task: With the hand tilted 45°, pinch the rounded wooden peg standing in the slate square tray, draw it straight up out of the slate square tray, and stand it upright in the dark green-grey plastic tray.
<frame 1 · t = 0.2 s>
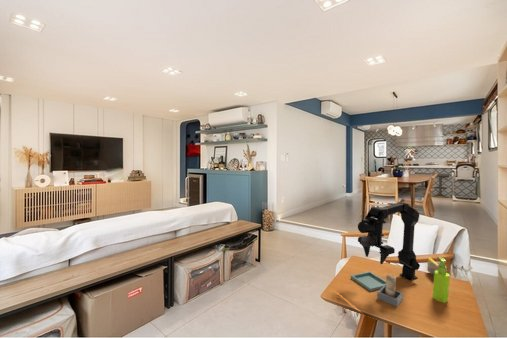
hand: (373, 260, 127), 14 cm above the table, tool pointing down, fingers open, 9 cm apart
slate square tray: (389, 300, 116), on the table
soap dispenser: (439, 298, 118), on the table
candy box: (435, 278, 138), on the table
rounded wooden peg: (389, 298, 116), point 1 cm above the table, touching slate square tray
green-grey tray: (369, 283, 131), on the table
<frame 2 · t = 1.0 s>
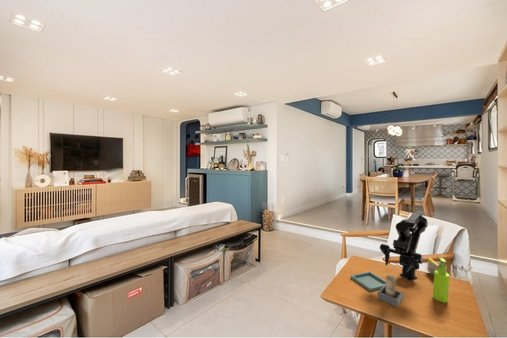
hand: (396, 268, 121), 13 cm above the table, tool tilted 45°, fingers open, 9 cm apart
nothing on the table moved.
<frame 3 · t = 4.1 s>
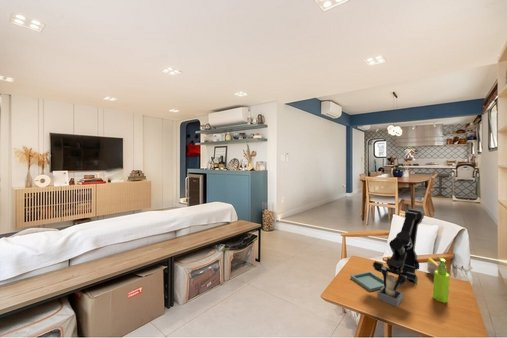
hand: (389, 288, 115), 7 cm above the table, tool tilted 45°, fingers closed on rounded wooden peg, 4 cm apart
rounded wooden peg: (389, 298, 116), point 1 cm above the table, touching gripper, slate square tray
everything else where it was.
when the fingers open (8 cm above the table, at t = 8.3 s): rounded wooden peg drops 1 cm, resting on green-grey tray.
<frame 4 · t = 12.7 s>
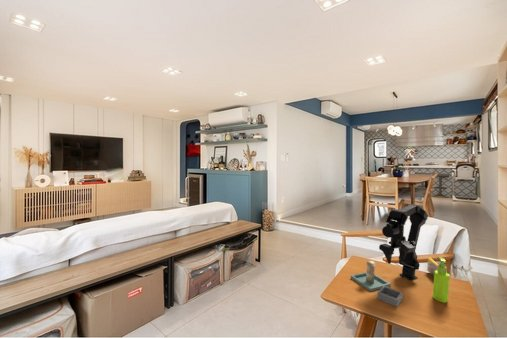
hand: (395, 262, 128), 13 cm above the table, tool pointing down, fingers open, 9 cm apart
rounded wooden peg: (370, 281, 131), point 1 cm above the table, touching green-grey tray
everything else where it was.
at the end: rounded wooden peg inside the target area on the green-grey tray (0.0 cm from its centre), point 0.8 cm above the green-grey tray's base; rounded wooden peg tilted 0°; the gripper is holding nothing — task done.
